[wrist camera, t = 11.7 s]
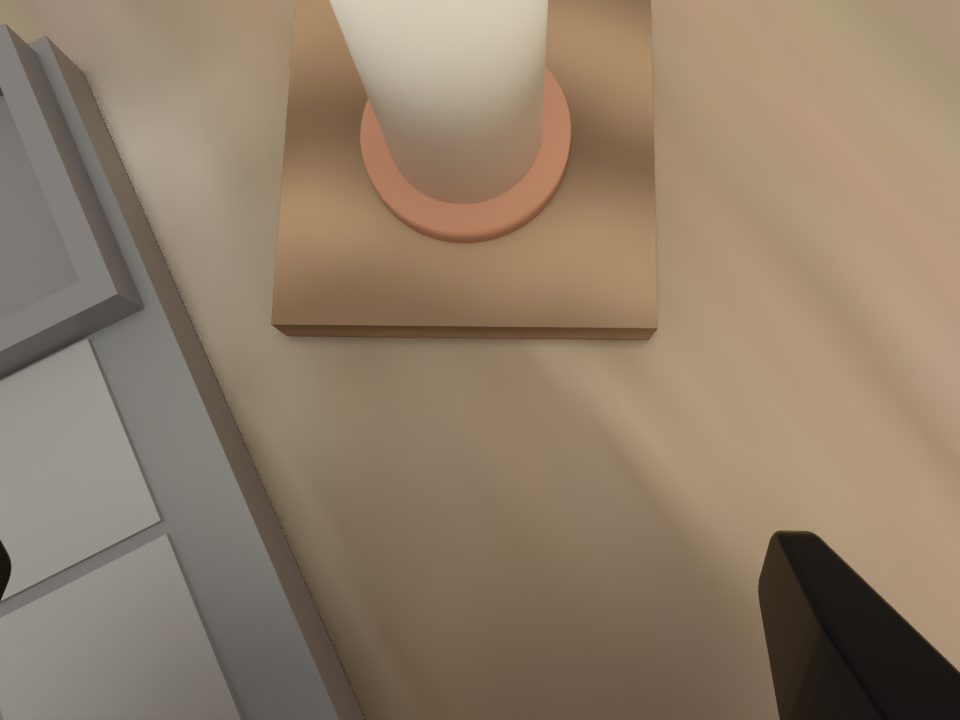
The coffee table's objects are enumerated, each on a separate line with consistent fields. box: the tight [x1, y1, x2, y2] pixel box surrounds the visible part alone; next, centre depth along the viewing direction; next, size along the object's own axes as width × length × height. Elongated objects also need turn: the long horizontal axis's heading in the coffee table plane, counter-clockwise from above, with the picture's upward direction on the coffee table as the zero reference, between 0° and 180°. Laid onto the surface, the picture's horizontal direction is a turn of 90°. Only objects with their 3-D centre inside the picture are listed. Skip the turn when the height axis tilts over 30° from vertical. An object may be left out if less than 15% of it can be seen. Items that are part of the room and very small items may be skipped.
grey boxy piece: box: [0, 24, 365, 720], centre depth 21 cm, size 24×10×4 cm, turn 27°
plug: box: [329, 0, 571, 243], centre depth 17 cm, size 6×6×12 cm
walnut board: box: [271, 0, 658, 340], centre depth 23 cm, size 11×11×2 cm
